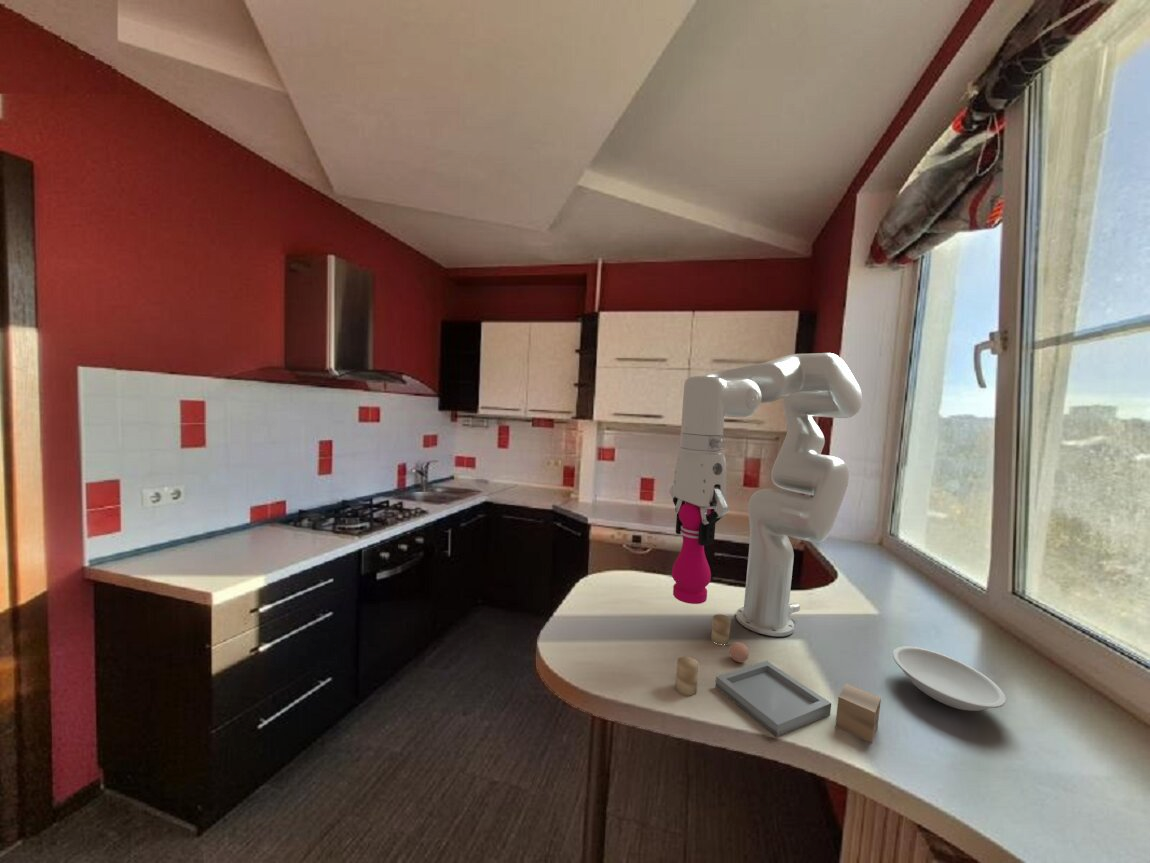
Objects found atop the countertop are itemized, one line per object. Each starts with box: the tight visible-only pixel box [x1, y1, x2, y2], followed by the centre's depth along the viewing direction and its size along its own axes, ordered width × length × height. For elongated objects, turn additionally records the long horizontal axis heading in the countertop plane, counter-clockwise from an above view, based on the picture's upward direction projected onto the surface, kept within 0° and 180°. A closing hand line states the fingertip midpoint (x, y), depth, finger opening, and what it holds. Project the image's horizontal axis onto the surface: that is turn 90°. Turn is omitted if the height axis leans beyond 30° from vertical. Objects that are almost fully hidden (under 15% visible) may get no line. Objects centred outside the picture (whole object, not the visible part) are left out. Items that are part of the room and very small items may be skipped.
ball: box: [729, 641, 750, 663], centre depth 90 cm, size 4×4×4 cm
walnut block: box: [834, 683, 882, 744], centre depth 73 cm, size 5×5×5 cm
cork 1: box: [675, 656, 699, 697], centre depth 80 cm, size 4×4×5 cm
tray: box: [714, 660, 832, 738], centre depth 79 cm, size 13×13×2 cm
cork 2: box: [710, 614, 732, 646], centre depth 97 cm, size 4×4×5 cm
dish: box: [892, 645, 1007, 712], centre depth 82 cm, size 18×14×5 cm
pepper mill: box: [671, 502, 712, 605], centre depth 86 cm, size 7×7×20 cm
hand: (694, 537), depth 86 cm, fingers closed on pepper mill, 5 cm apart
